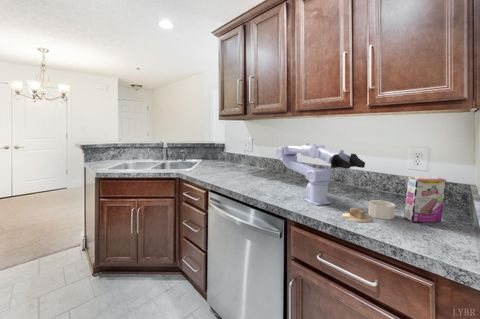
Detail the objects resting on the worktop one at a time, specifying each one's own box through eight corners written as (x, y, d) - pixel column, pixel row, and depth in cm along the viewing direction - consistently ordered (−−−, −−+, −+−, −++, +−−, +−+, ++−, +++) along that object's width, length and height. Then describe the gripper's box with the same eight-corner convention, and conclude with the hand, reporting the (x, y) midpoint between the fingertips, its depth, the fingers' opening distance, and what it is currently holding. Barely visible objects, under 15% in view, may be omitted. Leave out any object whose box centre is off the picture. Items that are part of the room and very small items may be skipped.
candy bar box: (412, 223, 92) (416, 179, 91) (403, 218, 97) (407, 176, 96) (442, 222, 93) (447, 179, 91) (431, 218, 98) (435, 176, 96)
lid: (336, 216, 100) (336, 207, 100) (355, 212, 105) (355, 204, 104) (358, 225, 91) (359, 215, 90) (378, 221, 95) (378, 212, 95)
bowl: (363, 213, 103) (364, 201, 102) (378, 210, 106) (379, 199, 106) (383, 220, 94) (384, 207, 94) (399, 217, 98) (400, 205, 98)
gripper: (319, 147, 105) (344, 156, 93) (345, 147, 111) (372, 155, 99) (317, 164, 107) (341, 174, 95) (342, 162, 113) (368, 172, 101)
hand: (357, 165), depth 97 cm, fingers open, 7 cm apart
